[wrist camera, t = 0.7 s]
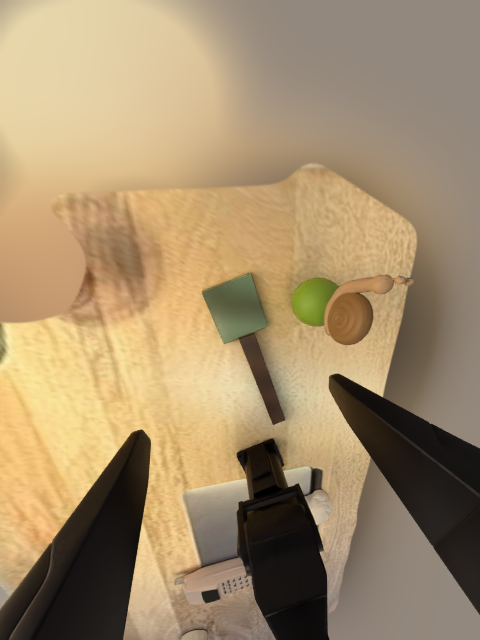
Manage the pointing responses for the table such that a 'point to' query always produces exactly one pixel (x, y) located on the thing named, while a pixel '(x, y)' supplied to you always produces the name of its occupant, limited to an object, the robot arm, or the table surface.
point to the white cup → (195, 635)
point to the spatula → (244, 330)
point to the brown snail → (341, 305)
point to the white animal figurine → (319, 506)
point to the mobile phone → (215, 581)
